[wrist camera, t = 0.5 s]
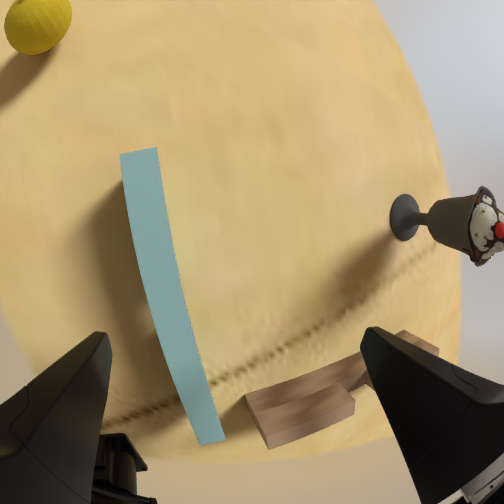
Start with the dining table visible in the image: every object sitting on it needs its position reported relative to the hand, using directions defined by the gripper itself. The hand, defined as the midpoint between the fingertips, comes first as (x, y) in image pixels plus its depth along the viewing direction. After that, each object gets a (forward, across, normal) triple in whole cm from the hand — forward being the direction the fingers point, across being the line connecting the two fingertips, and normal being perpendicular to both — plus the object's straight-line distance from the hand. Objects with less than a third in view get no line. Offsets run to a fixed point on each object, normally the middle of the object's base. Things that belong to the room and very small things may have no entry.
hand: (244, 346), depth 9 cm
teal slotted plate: (+12, +4, +5) cm, 13 cm away
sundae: (+16, -19, -1) cm, 25 cm away
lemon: (+15, +16, -16) cm, 28 cm away
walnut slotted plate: (+12, -13, +14) cm, 22 cm away
